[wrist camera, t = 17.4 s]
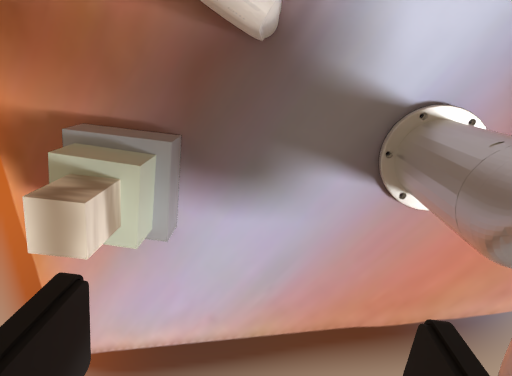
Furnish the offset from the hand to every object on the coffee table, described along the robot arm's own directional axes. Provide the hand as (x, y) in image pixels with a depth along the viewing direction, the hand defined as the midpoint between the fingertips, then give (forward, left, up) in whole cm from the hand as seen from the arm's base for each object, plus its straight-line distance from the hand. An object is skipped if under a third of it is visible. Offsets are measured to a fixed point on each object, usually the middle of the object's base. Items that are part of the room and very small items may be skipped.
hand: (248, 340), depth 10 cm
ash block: (+16, +7, -25) cm, 30 cm away
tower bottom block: (+16, +7, -35) cm, 39 cm away
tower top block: (+16, +7, -30) cm, 35 cm away
